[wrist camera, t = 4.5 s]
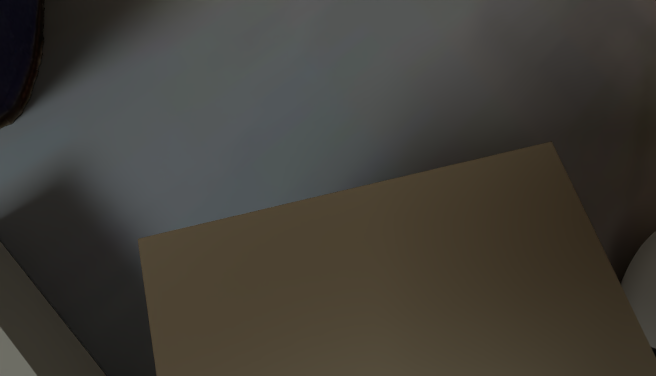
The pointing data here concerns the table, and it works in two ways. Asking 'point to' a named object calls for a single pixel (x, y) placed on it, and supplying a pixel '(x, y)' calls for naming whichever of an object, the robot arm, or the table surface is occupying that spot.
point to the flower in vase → (643, 287)
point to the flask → (19, 54)
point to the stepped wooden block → (399, 282)
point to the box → (35, 331)
